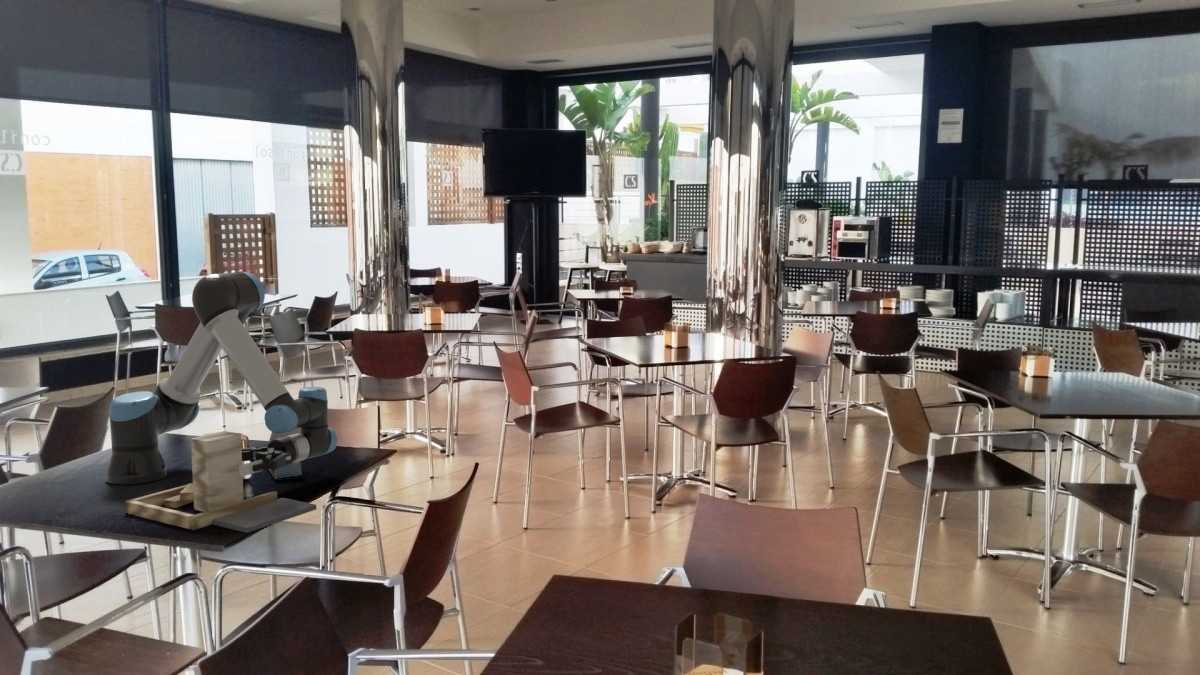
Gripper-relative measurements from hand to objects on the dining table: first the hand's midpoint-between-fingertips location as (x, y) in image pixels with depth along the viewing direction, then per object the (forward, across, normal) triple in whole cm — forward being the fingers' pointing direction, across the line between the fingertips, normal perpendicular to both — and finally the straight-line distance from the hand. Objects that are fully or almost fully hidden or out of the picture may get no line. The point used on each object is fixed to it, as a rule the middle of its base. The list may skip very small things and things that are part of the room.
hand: (221, 467), depth 237 cm
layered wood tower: (+1, +1, -10) cm, 10 cm away
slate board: (+1, -16, -10) cm, 19 cm away
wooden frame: (+4, +3, -10) cm, 11 cm away
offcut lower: (+2, +11, -10) cm, 16 cm away
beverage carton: (-32, +14, -10) cm, 36 cm away
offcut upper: (+2, +10, -8) cm, 13 cm away
